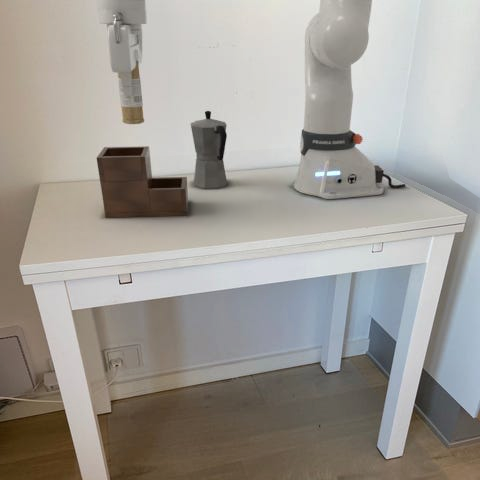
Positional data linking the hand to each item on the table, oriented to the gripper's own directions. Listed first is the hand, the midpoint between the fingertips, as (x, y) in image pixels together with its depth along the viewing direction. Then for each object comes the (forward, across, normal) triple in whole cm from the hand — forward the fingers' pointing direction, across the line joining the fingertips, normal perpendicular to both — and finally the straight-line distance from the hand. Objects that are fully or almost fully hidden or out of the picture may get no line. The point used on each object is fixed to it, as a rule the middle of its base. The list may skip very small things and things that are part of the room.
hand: (130, 93), depth 100 cm
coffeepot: (+25, +19, -16) cm, 35 cm away
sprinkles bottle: (+6, 0, 0) cm, 6 cm away
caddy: (+25, +1, -1) cm, 25 cm away
